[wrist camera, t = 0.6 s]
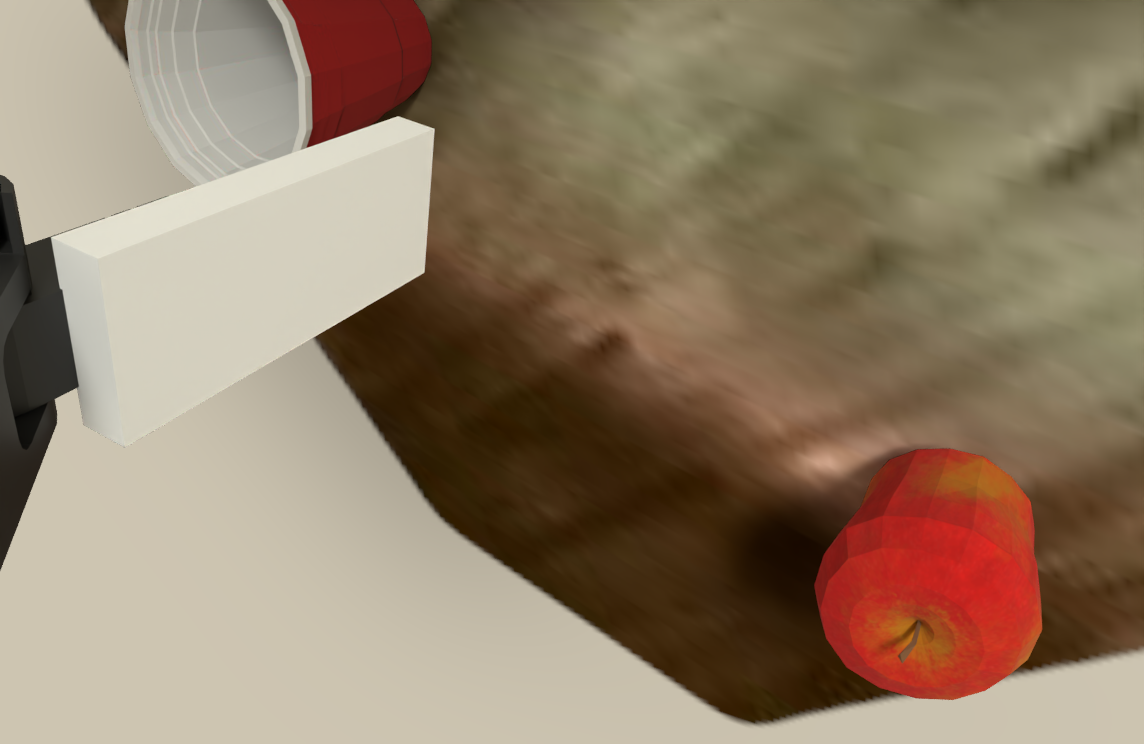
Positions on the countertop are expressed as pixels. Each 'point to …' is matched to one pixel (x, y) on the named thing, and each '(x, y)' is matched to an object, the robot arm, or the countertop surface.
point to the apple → (934, 578)
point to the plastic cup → (268, 74)
